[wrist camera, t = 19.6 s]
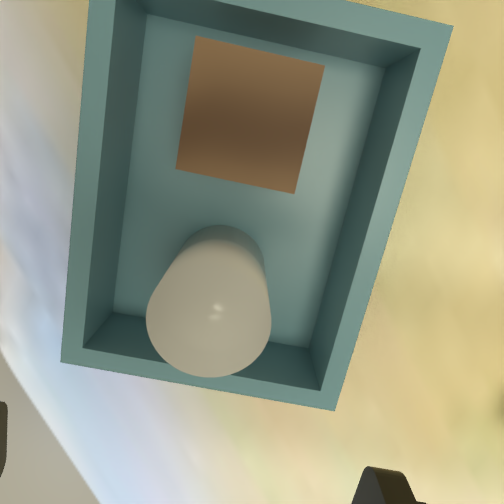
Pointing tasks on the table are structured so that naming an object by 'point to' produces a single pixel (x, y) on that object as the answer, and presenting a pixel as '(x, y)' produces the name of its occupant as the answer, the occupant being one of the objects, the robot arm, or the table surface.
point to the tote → (238, 194)
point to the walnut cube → (247, 115)
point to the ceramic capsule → (212, 304)
